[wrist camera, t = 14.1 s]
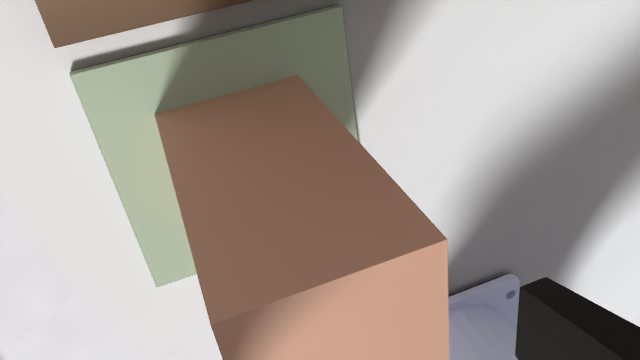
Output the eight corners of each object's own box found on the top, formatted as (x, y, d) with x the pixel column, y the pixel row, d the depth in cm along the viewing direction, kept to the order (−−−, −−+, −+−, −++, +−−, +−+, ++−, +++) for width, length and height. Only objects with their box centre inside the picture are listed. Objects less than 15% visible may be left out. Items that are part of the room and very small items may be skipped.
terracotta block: (318, 192, 20) (449, 390, 13) (193, 232, 19) (261, 470, 12) (297, 75, 18) (447, 239, 11) (154, 114, 17) (210, 324, 10)
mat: (363, 211, 22) (366, 216, 22) (155, 282, 20) (156, 287, 20) (338, 4, 18) (341, 6, 17) (70, 71, 16) (69, 75, 16)
